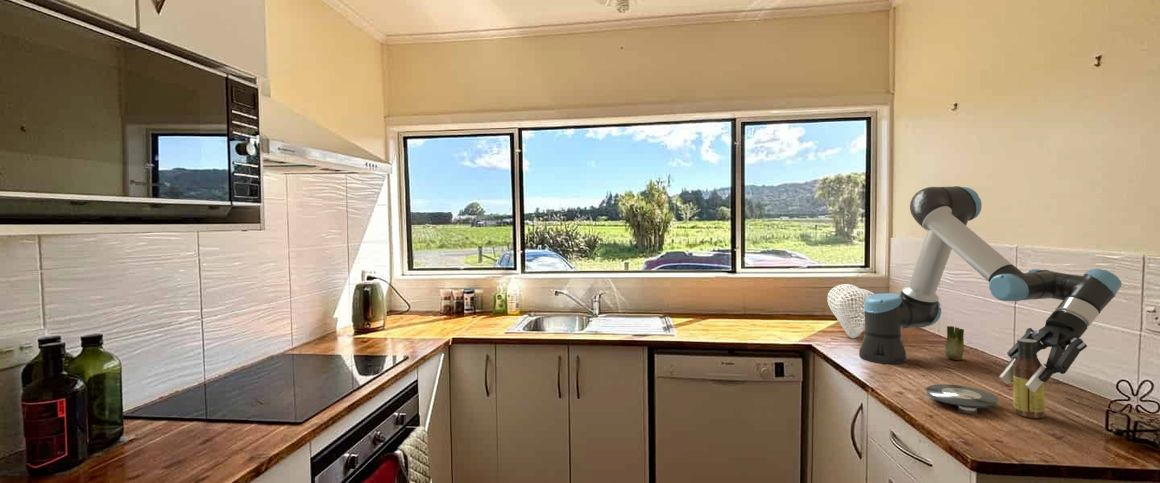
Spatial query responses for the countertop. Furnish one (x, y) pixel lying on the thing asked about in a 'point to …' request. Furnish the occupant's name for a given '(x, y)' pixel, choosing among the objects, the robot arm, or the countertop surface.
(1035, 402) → the sauce bottle
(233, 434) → the countertop surface
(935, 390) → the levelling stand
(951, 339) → the fennel bulb
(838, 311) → the heart
